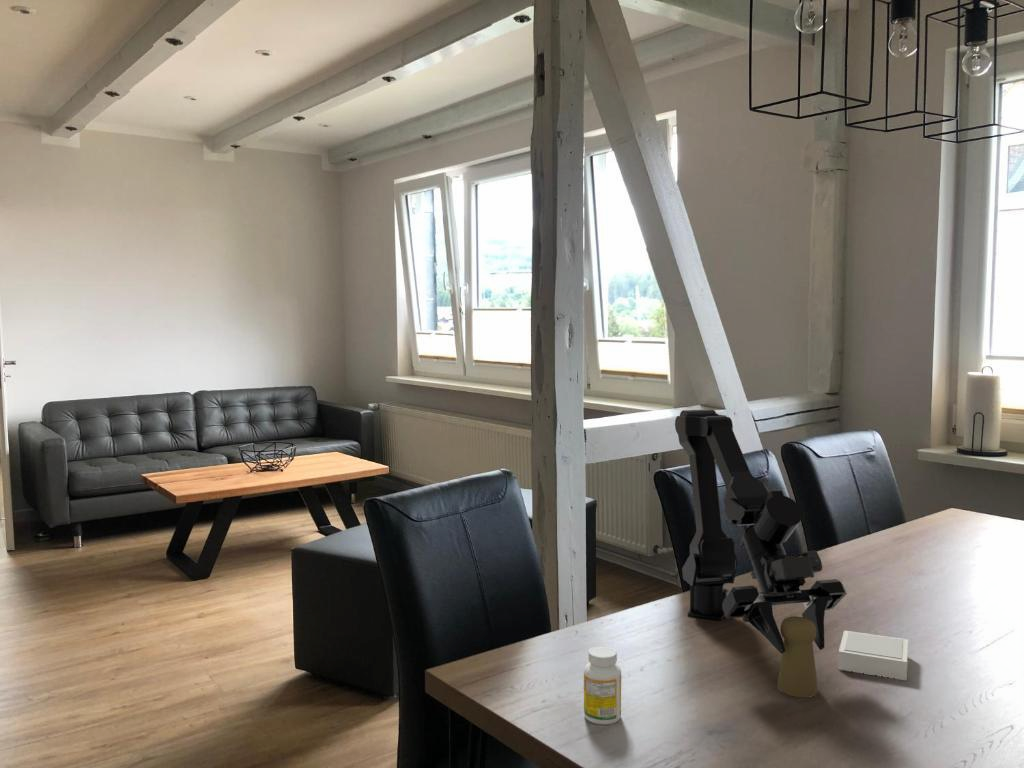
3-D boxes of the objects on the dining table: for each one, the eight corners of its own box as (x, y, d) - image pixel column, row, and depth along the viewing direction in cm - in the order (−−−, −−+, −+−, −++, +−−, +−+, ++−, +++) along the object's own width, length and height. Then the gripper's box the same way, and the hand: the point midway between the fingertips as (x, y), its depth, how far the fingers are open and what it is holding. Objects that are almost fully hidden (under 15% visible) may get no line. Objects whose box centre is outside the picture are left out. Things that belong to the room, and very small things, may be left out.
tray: (838, 669, 137) (838, 650, 137) (843, 647, 146) (844, 629, 146) (906, 680, 133) (907, 661, 132) (907, 657, 142) (908, 638, 141)
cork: (821, 699, 127) (822, 627, 126) (778, 695, 128) (780, 624, 127) (815, 681, 133) (816, 613, 132) (774, 678, 134) (775, 611, 133)
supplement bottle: (607, 729, 118) (607, 662, 118) (576, 718, 122) (576, 653, 121) (628, 715, 122) (628, 650, 122) (597, 704, 126) (597, 641, 125)
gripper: (730, 536, 130) (764, 632, 121) (841, 529, 134) (882, 622, 124) (709, 571, 139) (738, 664, 129) (813, 563, 142) (850, 653, 133)
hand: (802, 650), depth 128 cm, fingers open, 6 cm apart
